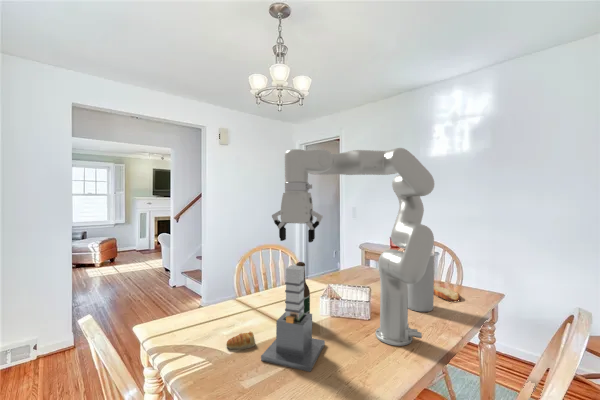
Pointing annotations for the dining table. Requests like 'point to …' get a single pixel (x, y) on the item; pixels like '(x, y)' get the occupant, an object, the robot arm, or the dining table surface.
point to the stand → (294, 344)
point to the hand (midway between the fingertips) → (296, 241)
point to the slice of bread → (446, 294)
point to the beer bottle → (305, 292)
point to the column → (295, 292)
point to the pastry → (241, 341)
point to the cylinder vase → (423, 290)
